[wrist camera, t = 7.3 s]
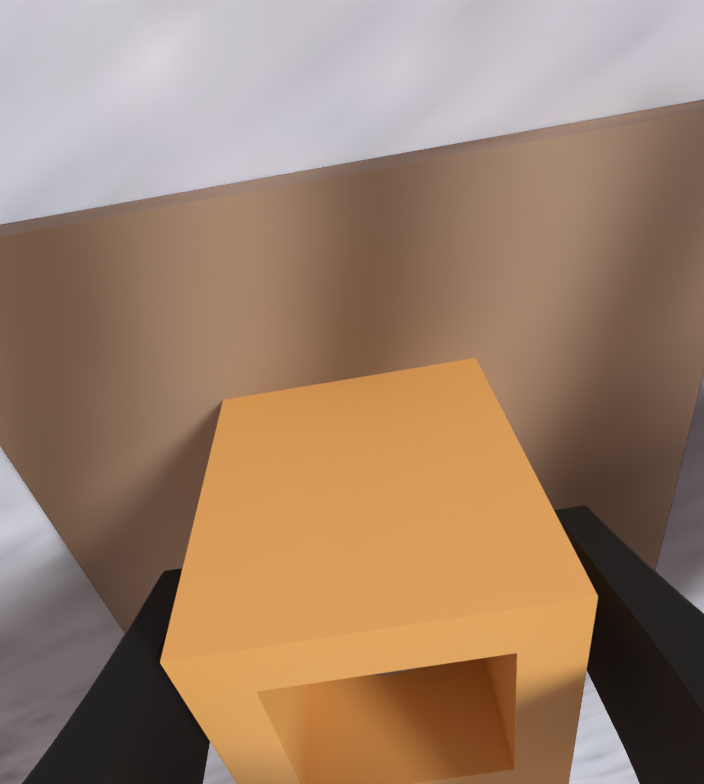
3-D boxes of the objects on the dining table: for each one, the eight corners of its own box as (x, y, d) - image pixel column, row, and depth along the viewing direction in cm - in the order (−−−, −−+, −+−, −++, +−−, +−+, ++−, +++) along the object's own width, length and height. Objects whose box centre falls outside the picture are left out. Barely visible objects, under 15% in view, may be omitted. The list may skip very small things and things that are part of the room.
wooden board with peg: (731, 94, 10) (1082, 142, 6) (632, 572, 18) (744, 757, 13) (-91, 240, 11) (-397, 396, 6) (159, 644, 18) (107, 847, 14)
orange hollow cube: (475, 357, 12) (598, 596, 7) (480, 532, 15) (568, 786, 10) (223, 399, 12) (160, 662, 7) (280, 564, 15) (265, 827, 10)
